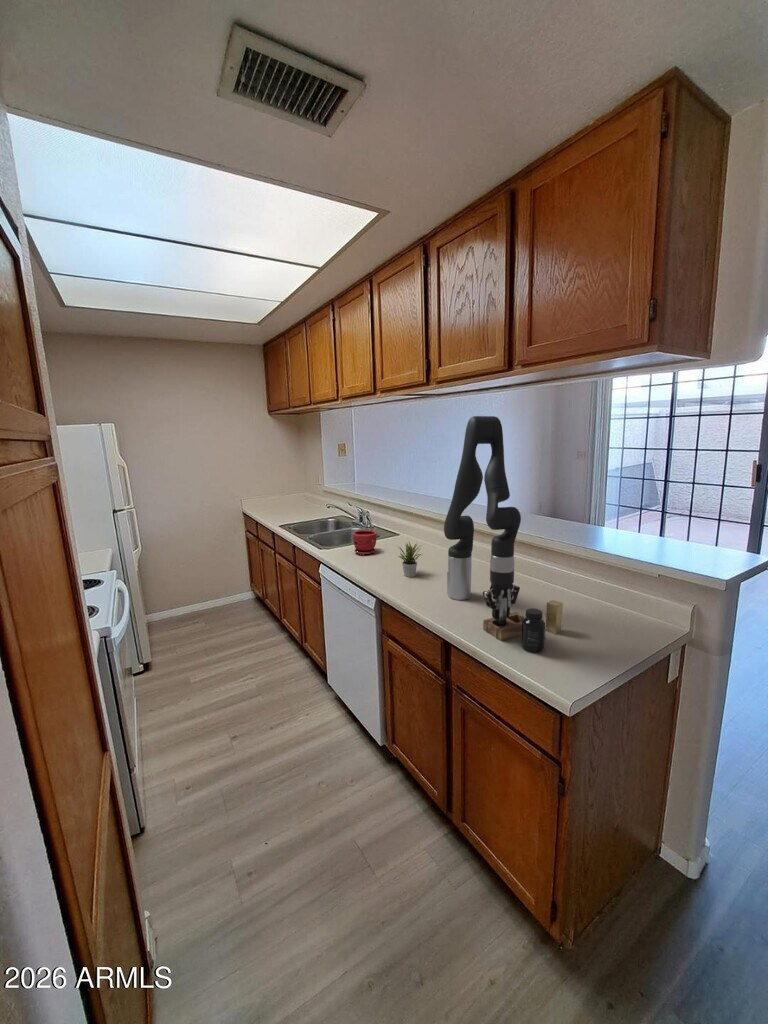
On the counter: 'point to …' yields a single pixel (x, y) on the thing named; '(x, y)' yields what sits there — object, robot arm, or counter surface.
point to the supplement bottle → (533, 631)
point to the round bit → (502, 613)
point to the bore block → (505, 627)
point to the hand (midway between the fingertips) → (500, 617)
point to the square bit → (554, 616)
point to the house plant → (409, 560)
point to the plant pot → (362, 545)
